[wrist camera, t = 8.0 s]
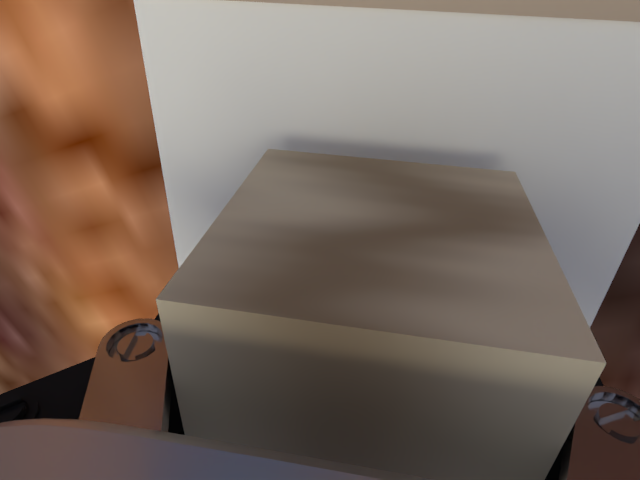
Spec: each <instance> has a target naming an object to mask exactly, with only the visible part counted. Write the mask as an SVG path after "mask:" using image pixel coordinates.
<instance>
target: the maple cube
mask: <svg viewBox="0 0 640 480" xmlns="http://www.w3.org/2000/svg"><path fill="white" fill-rule="evenodd" d="M156 302H157V307H158V312H159V316H160V321H161V326H162V330H163V335H164V340H165V344H166V349H167V354H168V358H169V363H170V368H171V373H172V377H173V382H174V387H175V391H176V396H177V401H178V405H179V410H180V415H181V419H182V424H183V429H184V434H185V435H187V436H192V437H198V438H204V439H209V440H215V441H221V442H227V443H232V444H238V445H244V446H249V447H255V448H261V449H267V450H272V451H278V452H284V453H289V454H295V455H300V456H306V457H311V458H317V459H322V460H328V461H334V462H339V463H345V464H350V465H356V466H361V467H367V468H372V469H378V470H383V471H389V472H394V473H400V474H405V475H411V476H416V477H422V478H427V479H432V480H545V478H546V476H547V474H548V472H549V470H550V469H551V467H552V465H553V463H554V461H555V459H556V457H557V455H558V454H559V452H560V450H561V448H562V446H563V444H564V442H565V440H566V439H567V437H568V435H569V433H570V431H571V429H572V427H573V425H574V423H575V422H576V420H577V418H578V416H579V414H580V412H581V410H582V408H583V407H584V405H585V403H586V401H587V399H588V397H589V395H590V393H591V392H592V390H593V388H594V386H595V384H596V382H597V380H598V378H599V376H600V375H601V373H602V371H603V369H604V367H605V365H606V361H605V359H604V357H603V355H602V353H601V351H600V348H599V346H598V344H597V342H596V340H595V338H594V336H593V334H592V332H591V330H590V328H589V325H588V323H587V321H586V319H585V317H584V315H583V313H582V311H581V309H580V307H579V304H578V302H577V300H576V298H575V296H574V294H573V292H572V290H571V288H570V286H569V284H568V281H567V279H566V277H565V275H564V273H563V271H562V269H561V267H560V265H559V263H558V260H557V258H556V256H555V254H554V252H553V250H552V248H551V246H550V244H549V242H548V240H547V237H546V235H545V233H544V231H543V229H542V227H541V225H540V223H539V221H538V219H537V216H536V214H535V212H534V210H533V208H532V206H531V204H530V202H529V200H528V198H527V195H526V193H525V191H524V189H523V187H522V185H521V183H520V181H519V179H518V177H517V175H516V172H512V171H502V170H491V169H480V168H470V167H459V166H448V165H438V164H427V163H416V162H405V161H395V160H384V159H373V158H363V157H352V156H341V155H331V154H320V153H309V152H298V151H288V150H277V149H268V150H267V151H266V152H265V154H264V155H263V156H262V158H261V159H260V160H259V162H258V163H257V164H256V166H255V167H254V168H253V170H252V171H251V172H250V174H249V175H248V176H247V178H246V179H245V180H244V182H243V183H242V184H241V186H240V187H239V188H238V190H237V191H236V193H235V194H234V195H233V197H232V198H231V199H230V201H229V202H228V203H227V205H226V206H225V207H224V209H223V210H222V211H221V213H220V214H219V215H218V217H217V218H216V219H215V221H214V222H213V223H212V225H211V226H210V227H209V229H208V230H207V231H206V233H205V234H204V235H203V237H202V238H201V239H200V241H199V242H198V244H197V245H196V246H195V248H194V249H193V250H192V252H191V253H190V254H189V256H188V257H187V258H186V260H185V261H184V262H183V264H182V265H181V266H180V268H179V269H178V270H177V272H176V273H175V274H174V276H173V277H172V278H171V280H170V281H169V282H168V284H167V285H166V286H165V288H164V289H163V290H162V292H161V293H160V295H159V296H158V297H157V299H156Z"/></svg>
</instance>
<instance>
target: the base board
mask: <svg viewBox="0 0 640 480" xmlns="http://www.w3.org/2000/svg"><path fill="white" fill-rule="evenodd" d="M134 6H135V12H136V18H137V24H138V30H139V36H140V41H141V47H142V53H143V59H144V65H145V71H146V77H147V83H148V89H149V95H150V101H151V107H152V112H153V118H154V124H155V130H156V136H157V142H158V148H159V154H160V160H161V166H162V172H163V178H164V183H165V189H166V195H167V201H168V207H169V213H170V219H171V225H172V231H173V237H174V243H175V249H176V255H177V260H178V266H179V268H180V266H181V265H182V264H183V262H184V261H185V260H186V258H187V257H188V256H189V254H190V253H191V252H192V250H193V249H194V248H195V246H196V245H197V244H198V242H199V241H200V239H201V238H202V237H203V235H204V234H205V233H206V231H207V230H208V229H209V227H210V226H211V225H212V223H213V222H214V221H215V219H216V218H217V217H218V215H219V214H220V213H221V211H222V210H223V209H224V207H225V206H226V205H227V203H228V202H229V201H230V199H231V198H232V197H233V195H234V194H235V193H236V191H237V190H238V188H239V187H240V186H241V184H242V183H243V182H244V180H245V179H246V178H247V176H248V175H249V174H250V172H251V171H252V170H253V168H254V167H255V166H256V164H257V163H258V162H259V160H260V159H261V158H262V156H263V155H264V154H265V152H266V151H267V150H268V149H277V150H288V151H298V152H309V153H320V154H331V155H341V156H352V157H363V158H373V159H384V160H395V161H405V162H416V163H427V164H438V165H448V166H459V167H470V168H480V169H491V170H502V171H512V172H516V175H517V177H518V179H519V181H520V183H521V185H522V187H523V189H524V191H525V193H526V195H527V198H528V200H529V202H530V204H531V206H532V208H533V210H534V212H535V214H536V216H537V219H538V221H539V223H540V225H541V227H542V229H543V231H544V233H545V235H546V237H547V240H548V242H549V244H550V246H551V248H552V250H553V252H554V254H555V256H556V258H557V260H558V263H559V265H560V267H561V269H562V271H563V273H564V275H565V277H566V279H567V281H568V284H569V286H570V288H571V290H572V292H573V294H574V296H575V298H576V300H577V302H578V304H579V307H580V309H581V311H582V313H583V315H584V317H585V319H586V321H587V323H588V325H589V328H590V327H591V325H592V323H593V320H594V318H595V316H596V314H597V312H598V310H599V308H600V306H601V304H602V301H603V299H604V297H605V295H606V293H607V291H608V289H609V287H610V285H611V283H612V280H613V278H614V276H615V274H616V272H617V270H618V268H619V266H620V264H621V261H622V259H623V257H624V255H625V253H626V251H627V249H628V247H629V245H630V243H631V240H632V238H633V236H634V234H635V232H636V230H637V228H638V226H639V224H640V0H134Z"/></svg>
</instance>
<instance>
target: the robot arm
mask: <svg viewBox="0 0 640 480" xmlns="http://www.w3.org/2000/svg"><path fill="white" fill-rule="evenodd" d="M0 480H432V479H427V478H422V477H416V476H411V475H405V474H400V473H394V472H389V471H383V470H378V469H372V468H367V467H361V466H356V465H350V464H345V463H339V462H334V461H328V460H322V459H317V458H311V457H306V456H300V455H295V454H289V453H284V452H278V451H272V450H267V449H261V448H255V447H249V446H244V445H238V444H232V443H227V442H221V441H215V440H209V439H204V438H198V437H192V436H187V435H185V434H184V429H183V424H182V419H181V415H180V410H179V405H178V401H177V396H176V391H175V387H174V382H173V377H172V373H171V368H170V363H169V358H168V354H167V349H166V344H165V340H164V335H163V330H162V326H161V321H160V316H159V314H158V315H157V317H156V318H155V319H135V320H130V321H127V322H124V323H122V324H120V325H117V326H116V327H114V328H113V329H111V330H110V331H109V332H108V333H107V334H106V335H105V336H104V337H103V338H102V340H101V342H100V344H99V346H98V350H97V354H96V357H95V358H92V359H89V360H87V361H84V362H82V363H79V364H77V365H74V366H72V367H69V368H67V369H64V370H61V371H59V372H56V373H54V374H51V375H49V376H46V377H44V378H41V379H39V380H36V381H33V382H31V383H28V384H26V385H23V386H21V387H18V388H16V389H13V390H11V391H8V392H5V393H3V394H1V395H0ZM545 480H640V400H639V399H638V398H637V397H635V396H633V395H631V394H629V393H627V392H625V391H623V390H619V389H616V388H612V387H607V386H603V384H602V382H601V379H600V377H599V378H598V380H597V382H596V384H595V386H594V388H593V390H592V392H591V393H590V395H589V397H588V399H587V401H586V403H585V405H584V407H583V408H582V410H581V412H580V414H579V416H578V418H577V420H576V422H575V423H574V425H573V427H572V429H571V431H570V433H569V435H568V437H567V439H566V440H565V442H564V444H563V446H562V448H561V450H560V452H559V454H558V455H557V457H556V459H555V461H554V463H553V465H552V467H551V469H550V470H549V472H548V474H547V476H546V478H545Z"/></svg>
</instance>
